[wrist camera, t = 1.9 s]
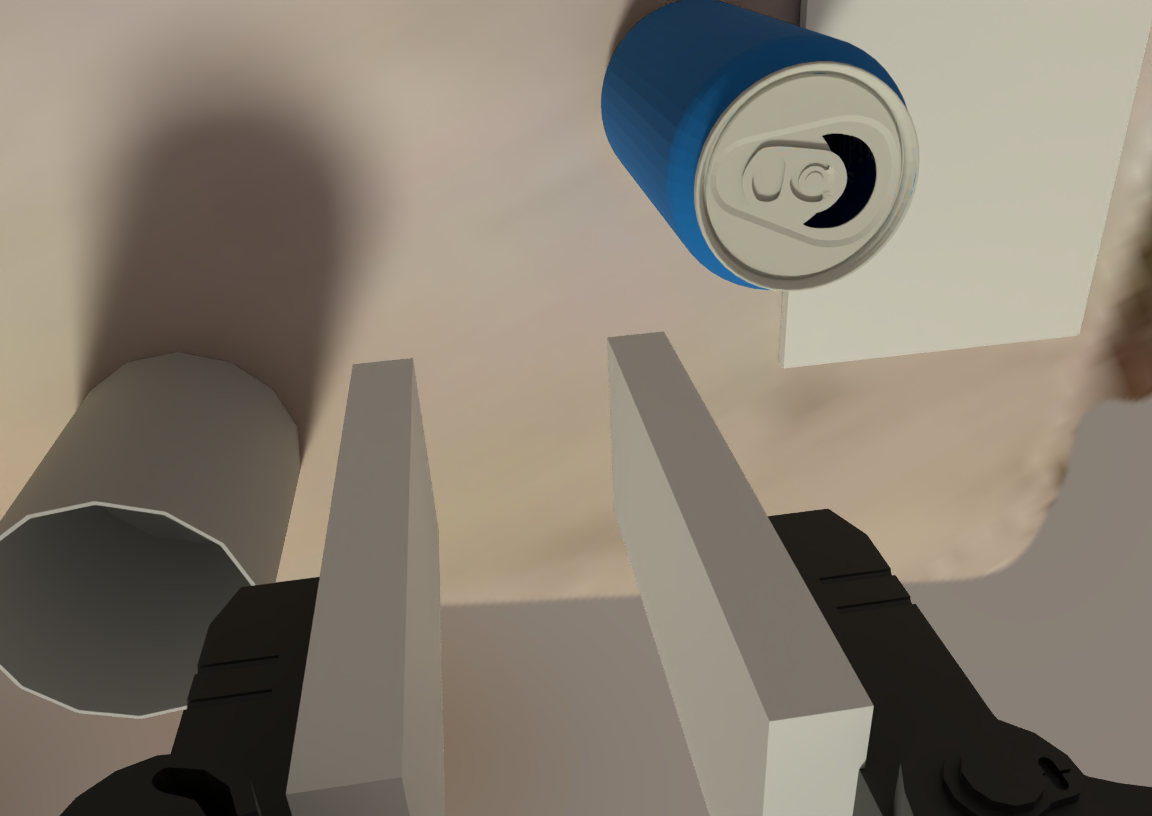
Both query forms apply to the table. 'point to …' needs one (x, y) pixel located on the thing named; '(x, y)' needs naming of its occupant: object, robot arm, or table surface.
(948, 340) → the flat white box
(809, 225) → the beverage can
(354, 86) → the table surface
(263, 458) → the cup
